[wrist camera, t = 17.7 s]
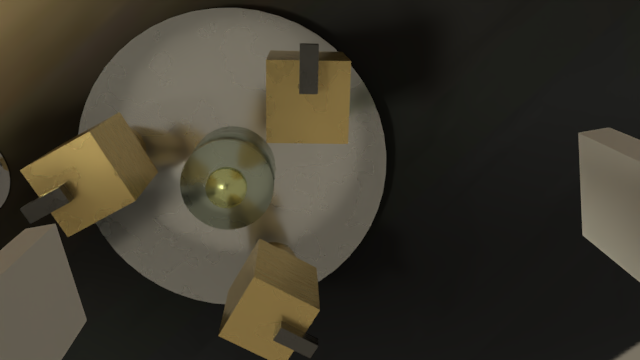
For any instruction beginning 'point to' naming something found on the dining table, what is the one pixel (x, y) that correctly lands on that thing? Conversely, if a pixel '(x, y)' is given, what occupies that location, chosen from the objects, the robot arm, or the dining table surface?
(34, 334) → the robot arm
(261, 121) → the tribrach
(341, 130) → the knob
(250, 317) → the knob
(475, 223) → the dining table surface
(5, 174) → the grey funnel
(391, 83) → the dining table surface
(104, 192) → the knob
